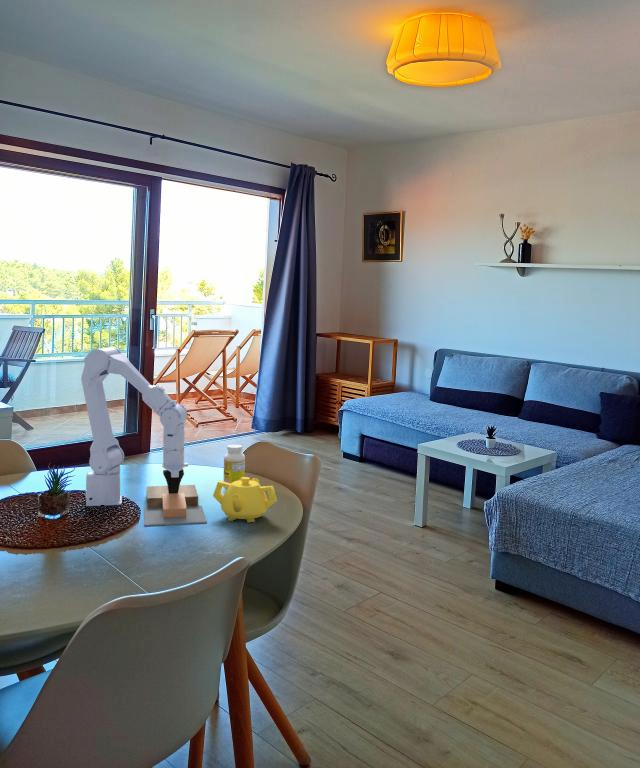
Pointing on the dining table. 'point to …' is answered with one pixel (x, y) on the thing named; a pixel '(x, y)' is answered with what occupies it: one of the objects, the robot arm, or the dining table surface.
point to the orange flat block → (174, 505)
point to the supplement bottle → (234, 464)
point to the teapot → (244, 498)
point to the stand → (156, 493)
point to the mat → (156, 517)
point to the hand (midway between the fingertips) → (173, 495)
